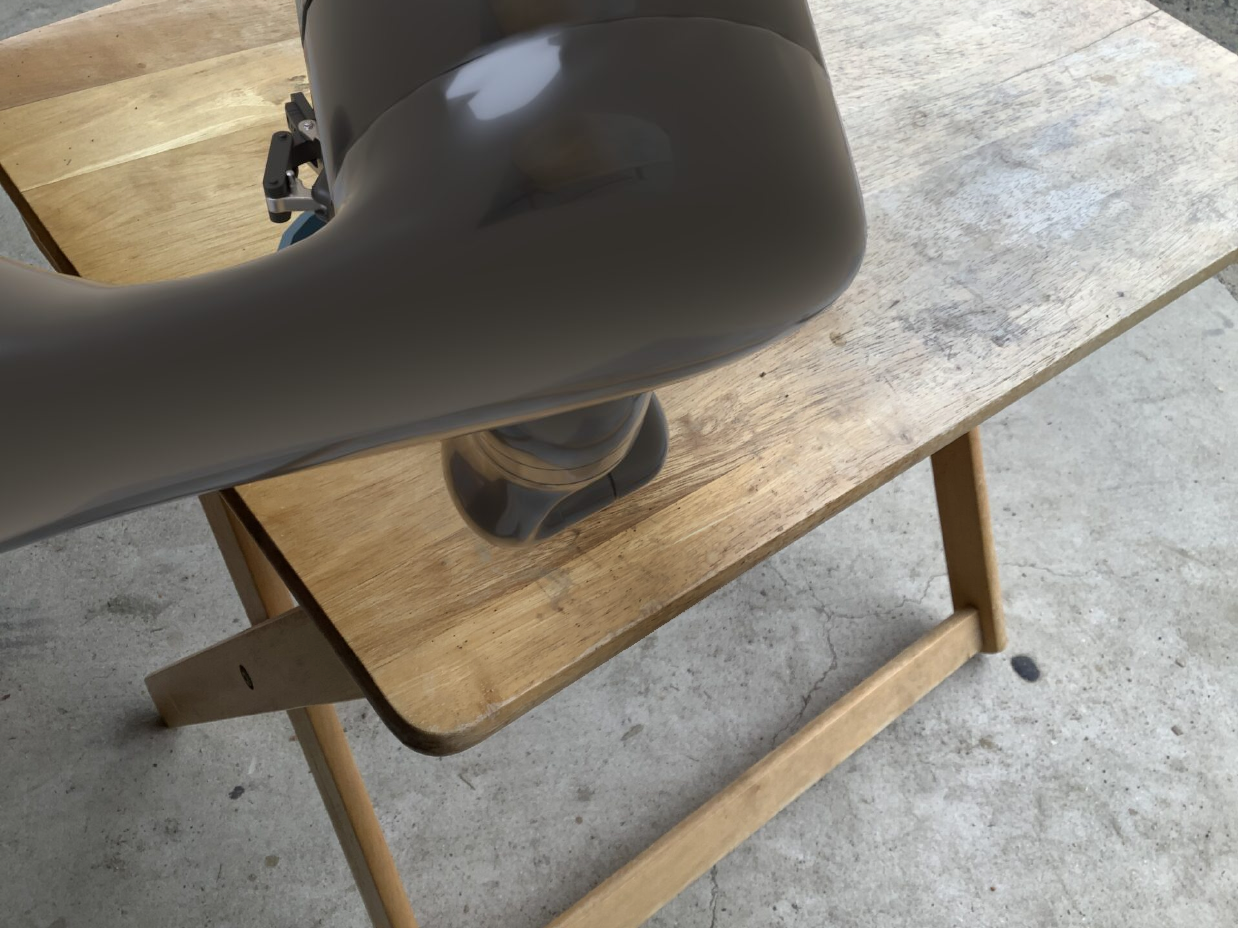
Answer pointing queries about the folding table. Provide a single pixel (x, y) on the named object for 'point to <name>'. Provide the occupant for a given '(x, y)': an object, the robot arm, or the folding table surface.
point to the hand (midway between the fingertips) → (326, 101)
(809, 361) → the folding table surface
